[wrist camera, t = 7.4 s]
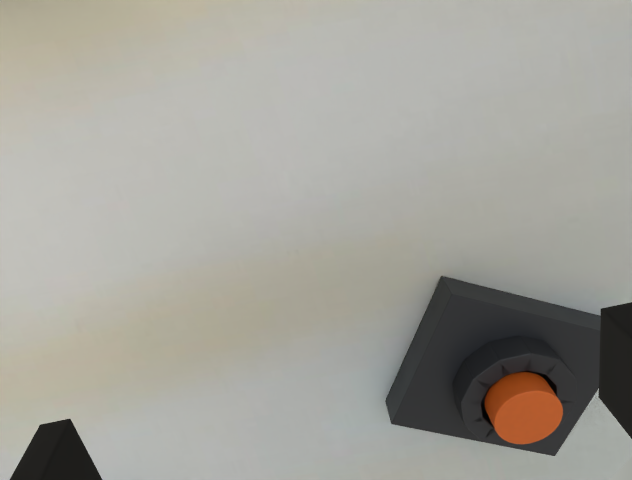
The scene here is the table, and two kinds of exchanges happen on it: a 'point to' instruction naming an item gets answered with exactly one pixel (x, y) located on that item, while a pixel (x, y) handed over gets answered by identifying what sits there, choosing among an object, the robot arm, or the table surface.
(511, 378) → the button
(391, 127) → the table surface
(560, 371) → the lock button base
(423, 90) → the table surface
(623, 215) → the table surface
